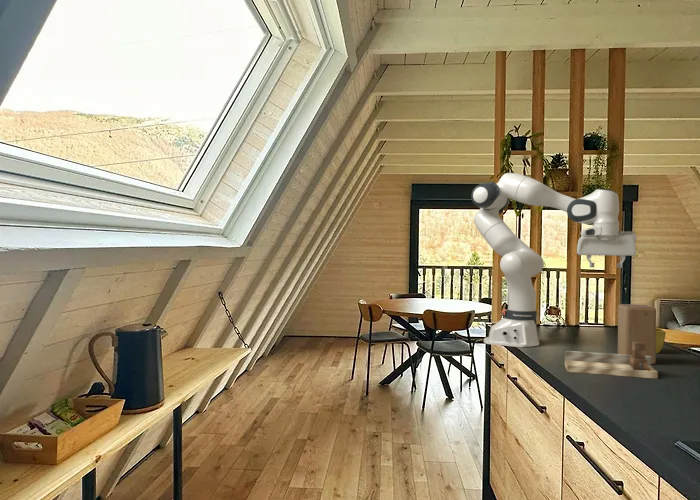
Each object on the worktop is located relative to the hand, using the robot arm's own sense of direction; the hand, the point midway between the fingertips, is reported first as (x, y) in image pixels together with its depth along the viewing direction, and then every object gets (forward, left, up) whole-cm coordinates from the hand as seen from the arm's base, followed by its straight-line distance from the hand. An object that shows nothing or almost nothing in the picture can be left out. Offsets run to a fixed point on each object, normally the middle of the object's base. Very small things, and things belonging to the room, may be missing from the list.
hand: (605, 267), depth 197 cm
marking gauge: (+5, -30, -31) cm, 44 cm away
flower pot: (+18, +12, -33) cm, 40 cm away
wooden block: (+9, -9, -33) cm, 36 cm away
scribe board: (-3, -30, -33) cm, 45 cm away
